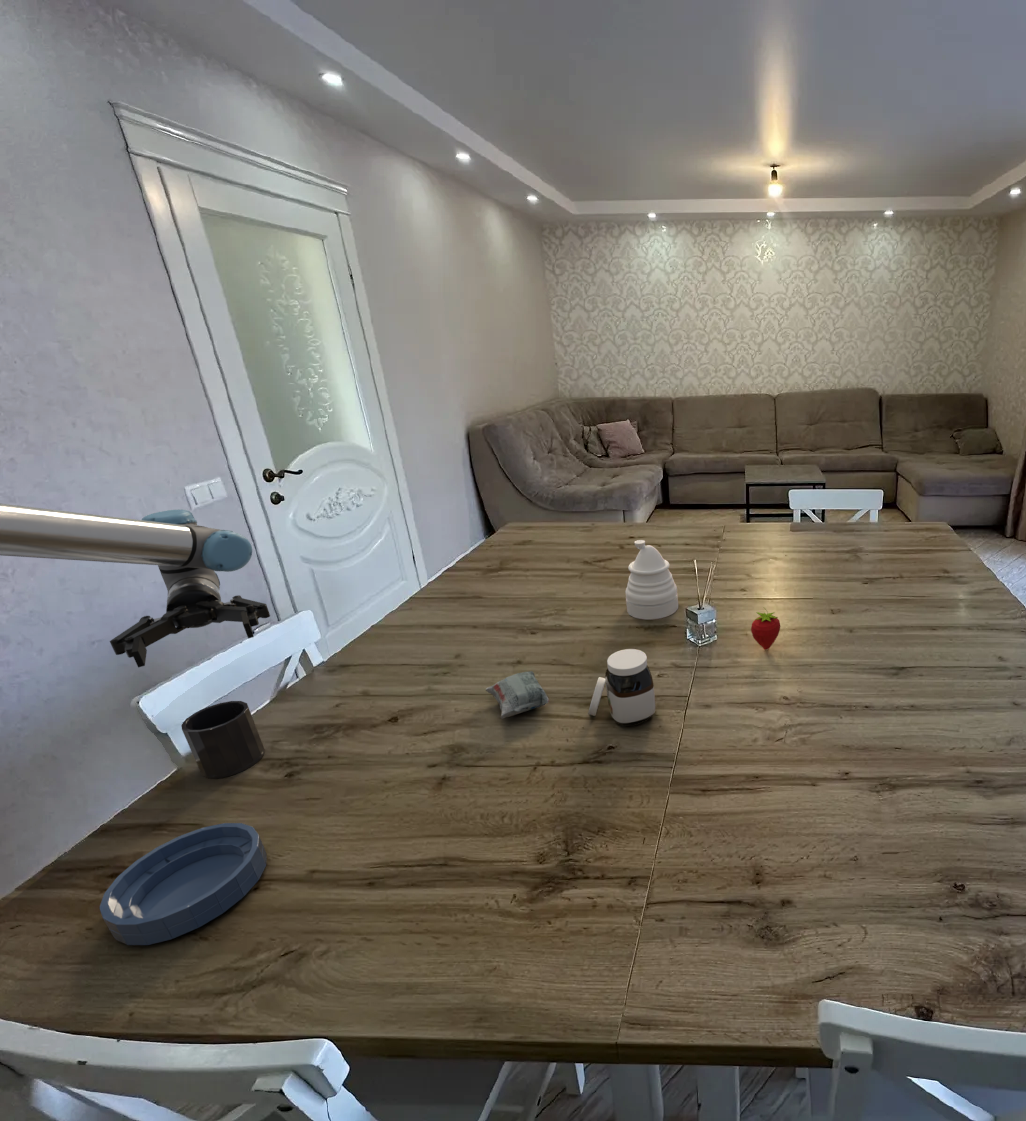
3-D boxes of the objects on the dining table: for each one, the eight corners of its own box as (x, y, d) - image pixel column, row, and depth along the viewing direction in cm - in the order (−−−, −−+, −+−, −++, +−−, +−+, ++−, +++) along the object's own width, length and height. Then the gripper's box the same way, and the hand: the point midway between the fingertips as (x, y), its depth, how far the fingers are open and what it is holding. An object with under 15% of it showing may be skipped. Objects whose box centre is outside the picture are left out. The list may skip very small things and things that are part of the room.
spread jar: (662, 722, 104) (657, 666, 99) (599, 742, 99) (591, 684, 95) (640, 689, 114) (635, 636, 109) (582, 705, 109) (574, 651, 104)
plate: (76, 949, 66) (61, 924, 65) (190, 845, 80) (179, 823, 78) (202, 948, 66) (190, 924, 65) (294, 844, 80) (286, 822, 78)
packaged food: (502, 729, 102) (498, 705, 101) (487, 697, 111) (482, 675, 110) (552, 711, 107) (549, 689, 105) (533, 682, 116) (529, 661, 114)
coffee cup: (188, 779, 92) (166, 732, 88) (230, 745, 99) (212, 700, 96) (238, 778, 92) (219, 731, 88) (277, 745, 99) (260, 700, 96)
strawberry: (745, 653, 126) (744, 611, 122) (762, 638, 132) (762, 598, 128) (768, 660, 123) (768, 618, 119) (785, 645, 129) (786, 604, 125)
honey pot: (633, 623, 139) (627, 553, 133) (621, 602, 150) (615, 536, 144) (684, 613, 144) (681, 545, 137) (669, 593, 155) (665, 529, 148)
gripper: (282, 601, 120) (295, 638, 105) (109, 642, 104) (96, 693, 89) (270, 567, 117) (282, 601, 102) (91, 605, 101) (75, 651, 87)
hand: (195, 644), depth 96 cm, fingers open, 13 cm apart
